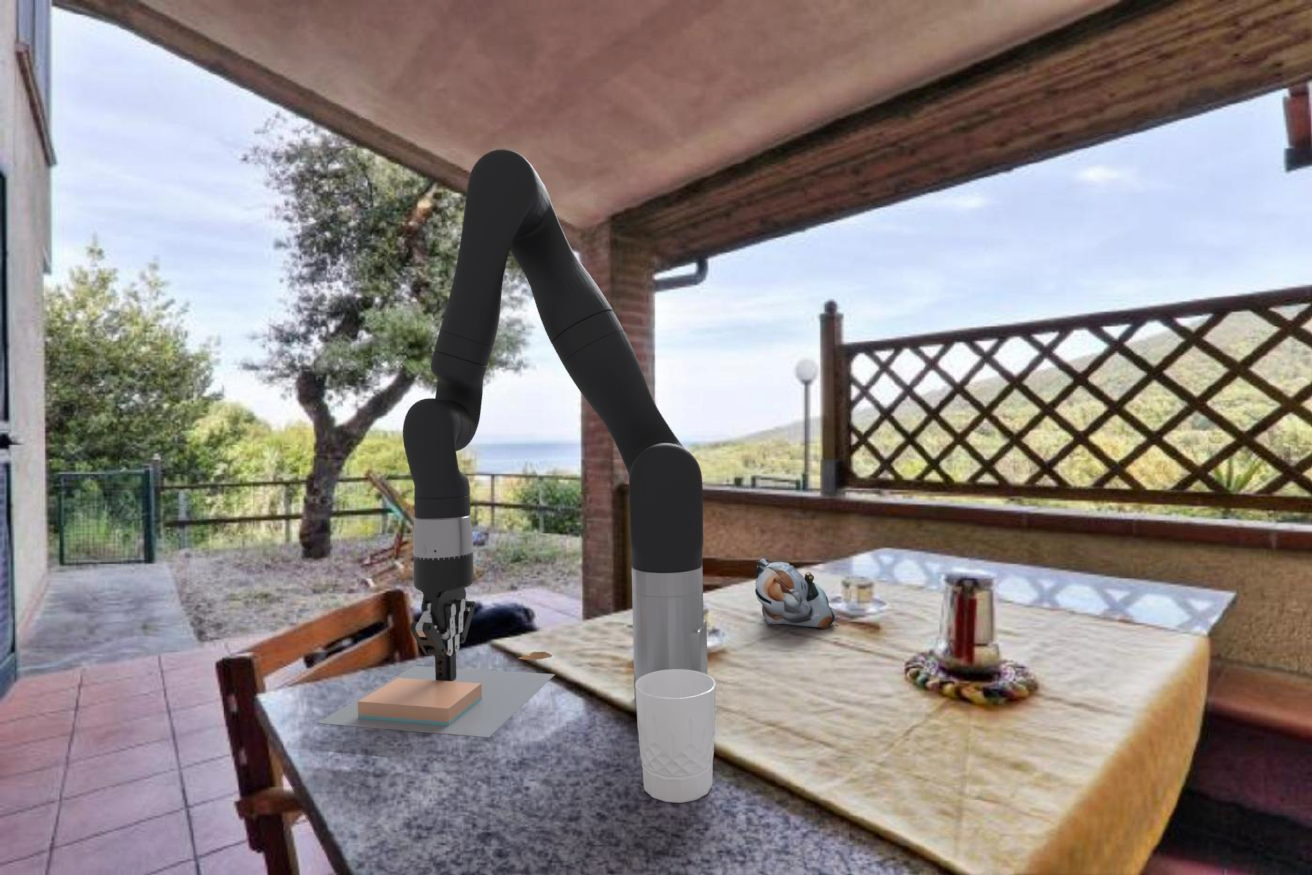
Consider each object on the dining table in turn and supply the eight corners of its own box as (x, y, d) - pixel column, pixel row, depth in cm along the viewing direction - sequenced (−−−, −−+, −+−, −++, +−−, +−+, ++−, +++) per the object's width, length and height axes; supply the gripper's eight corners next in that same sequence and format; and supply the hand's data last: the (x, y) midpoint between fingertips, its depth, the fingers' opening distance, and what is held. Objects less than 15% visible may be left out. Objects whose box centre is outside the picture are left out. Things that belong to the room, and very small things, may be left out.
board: (555, 682, 93) (554, 674, 93) (489, 747, 74) (488, 737, 74) (414, 673, 98) (414, 665, 98) (317, 732, 79) (317, 722, 79)
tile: (481, 683, 85) (448, 708, 77) (482, 698, 85) (448, 725, 77) (398, 677, 88) (357, 701, 80) (398, 692, 88) (358, 718, 80)
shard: (599, 669, 100) (599, 657, 100) (565, 686, 94) (564, 673, 93) (545, 657, 106) (545, 646, 106) (510, 672, 100) (510, 660, 100)
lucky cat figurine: (849, 628, 116) (828, 564, 111) (788, 659, 115) (764, 596, 110) (811, 586, 130) (790, 528, 125) (756, 613, 129) (733, 555, 124)
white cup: (635, 767, 69) (633, 670, 69) (710, 763, 69) (708, 667, 69) (639, 810, 61) (637, 700, 61) (725, 804, 62) (722, 695, 62)
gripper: (443, 560, 81) (446, 703, 81) (492, 543, 94) (494, 666, 94) (387, 559, 82) (390, 699, 82) (443, 542, 95) (446, 664, 95)
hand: (446, 681), depth 88 cm, fingers closed
